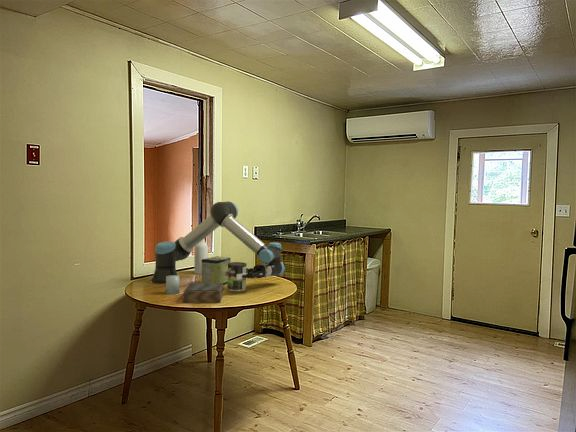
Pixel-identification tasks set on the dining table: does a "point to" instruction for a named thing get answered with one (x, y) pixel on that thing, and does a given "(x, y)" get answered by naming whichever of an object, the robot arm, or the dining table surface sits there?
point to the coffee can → (232, 271)
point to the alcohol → (200, 256)
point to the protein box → (215, 270)
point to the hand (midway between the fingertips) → (230, 275)
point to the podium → (203, 293)
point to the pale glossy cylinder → (172, 284)
